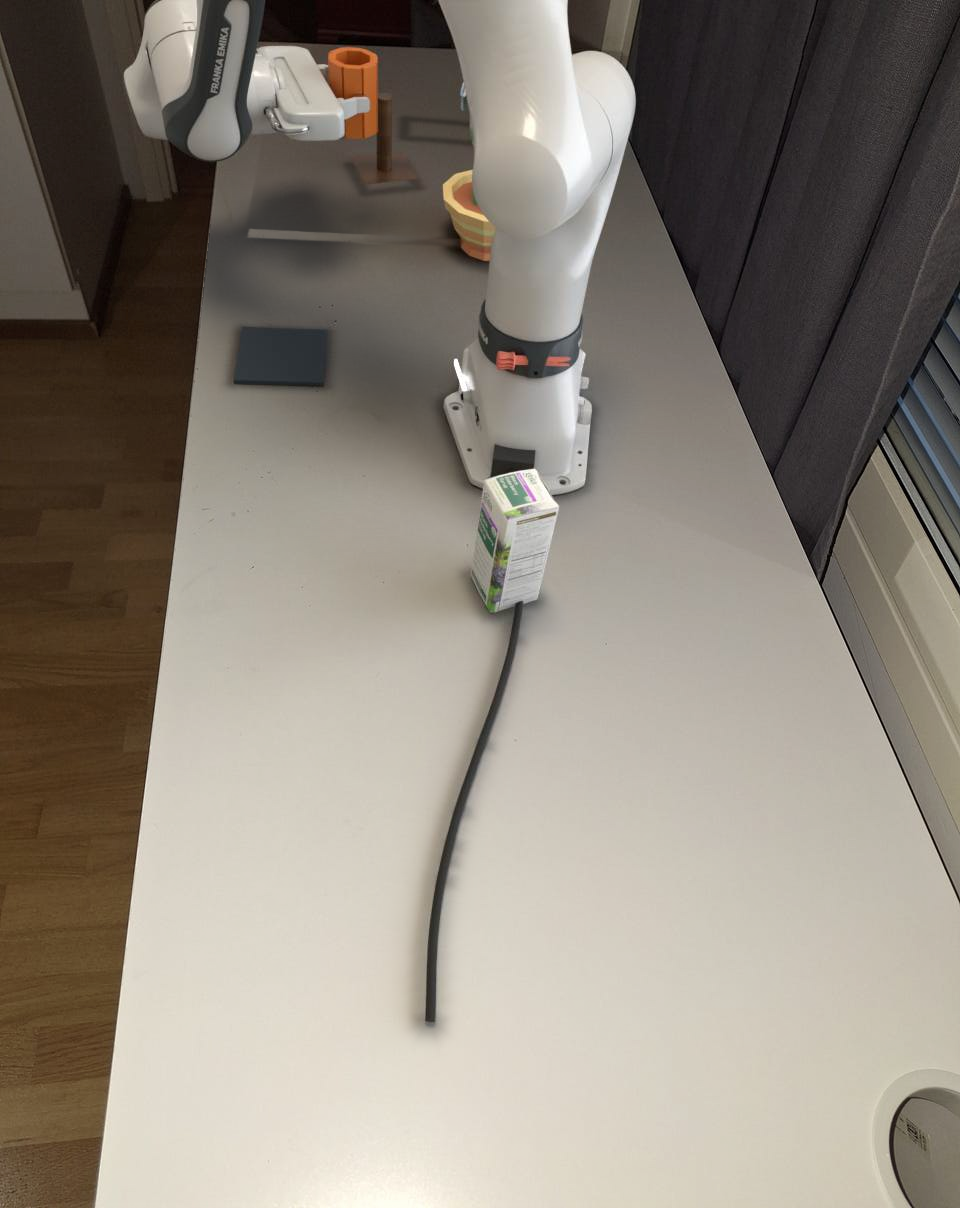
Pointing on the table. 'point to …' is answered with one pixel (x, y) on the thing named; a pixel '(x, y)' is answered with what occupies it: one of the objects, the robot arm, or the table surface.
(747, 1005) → the table surface
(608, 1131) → the table surface
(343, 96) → the orange faceted tube
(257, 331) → the mat
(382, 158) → the post
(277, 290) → the table surface
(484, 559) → the syrup box
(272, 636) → the table surface
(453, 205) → the potted cactus
